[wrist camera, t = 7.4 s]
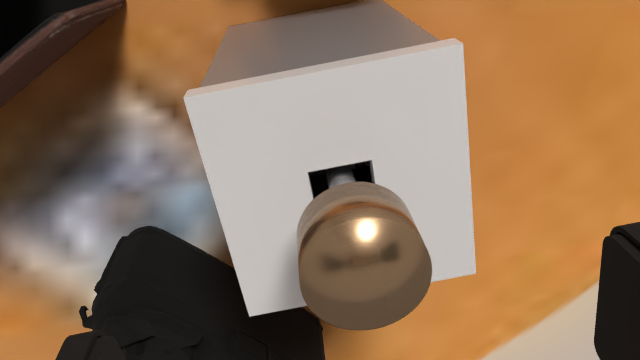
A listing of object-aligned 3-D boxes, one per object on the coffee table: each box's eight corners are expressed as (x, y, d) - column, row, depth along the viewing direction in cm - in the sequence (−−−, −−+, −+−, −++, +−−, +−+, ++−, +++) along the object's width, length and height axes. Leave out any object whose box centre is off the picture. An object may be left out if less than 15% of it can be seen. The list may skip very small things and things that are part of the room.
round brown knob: (264, 81, 22) (254, 217, 12) (368, 61, 22) (450, 179, 12) (286, 175, 24) (293, 362, 14) (381, 157, 24) (462, 330, 14)
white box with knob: (223, 23, 26) (183, 97, 15) (381, -8, 26) (463, 43, 15) (269, 209, 31) (266, 374, 20) (403, 183, 31) (479, 334, 20)
